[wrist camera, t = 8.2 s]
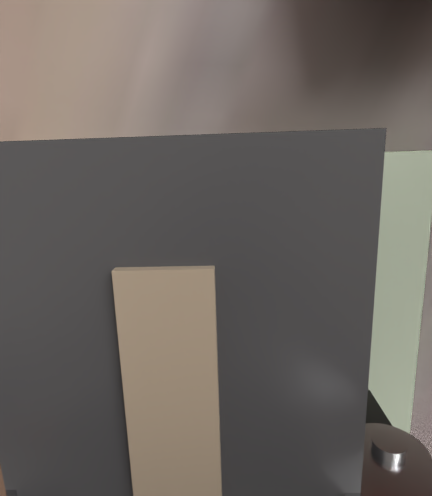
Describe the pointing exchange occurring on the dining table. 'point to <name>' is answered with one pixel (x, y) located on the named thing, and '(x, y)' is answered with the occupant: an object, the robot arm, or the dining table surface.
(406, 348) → the board
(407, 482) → the robot arm
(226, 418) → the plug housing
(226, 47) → the dining table surface
